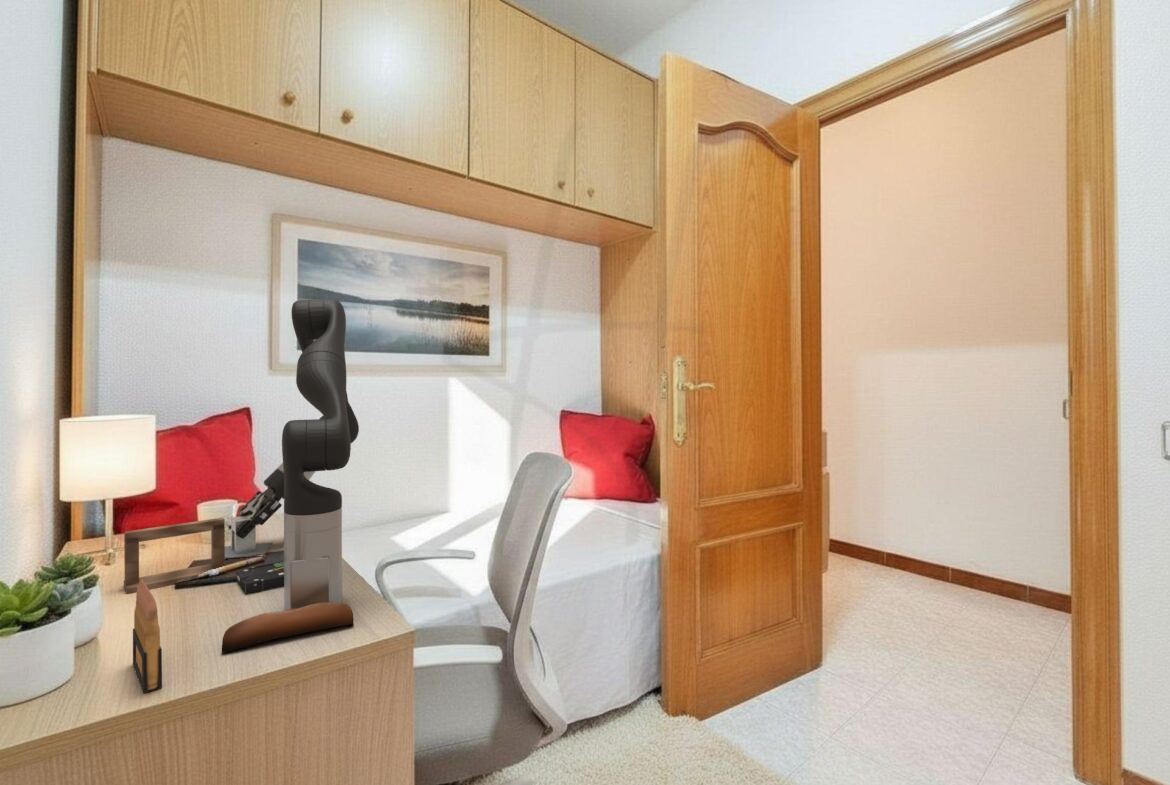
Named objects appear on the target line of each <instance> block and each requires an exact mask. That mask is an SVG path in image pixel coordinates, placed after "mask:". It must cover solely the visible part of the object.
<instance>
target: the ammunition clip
mask: <svg viewBox="0 0 1170 785" xmlns="http://www.w3.org/2000/svg"><path fill="white" fill-rule="evenodd" d="M135 599H136V600H135V608H134V614H133V618H134V622H133V623H134V627H133V628H132V666H133V665H134V666H133V668H135V669H134V671H136V672H135V674H136V677H137V679H139V680H138V682H139V685H140V684H141V685H140V688H141V687H142V688H141V690H143V691H142V693H143V694H147V693H150V692H149V691H151V692H152V691H153V690H154V691H156V689H157V690H159V688H160V689H163V664H162V661H163V660H162V659H163V657H162V656H163V655H162V654H163V651H162V647H161V635H160V634H161V632H160V630H161V629H160V623H159V617H158V607H157V605H158V604H157V603H156V600H155V597H154V596H153V594H152V592H151V591H150V589H148V587H147V586H146V584H145V582H144V580H143V579H141V580H140V582H139V584H138V588H137V592H136V597H135ZM146 692H147V693H146Z"/></svg>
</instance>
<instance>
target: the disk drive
mask: <svg viewBox="0 0 1170 785" xmlns="http://www.w3.org/2000/svg"><path fill="white" fill-rule="evenodd" d="M235 572H236V573H235V575H236V576H235V578H237V581H236V583H237V582H238V583H237V585H238V586H239V588H240V589H241V591H242V593H244V595H245V596H248V595H253V594H258V593H261V592H266V591H270V590H275V589H279V588H284V560H282V561H277V562H276V561H275V562H272V563H266V564H261V565H257V566H251V567H246V568H245V567H244V568H241V569H236V571H235Z"/></svg>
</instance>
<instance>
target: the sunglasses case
mask: <svg viewBox="0 0 1170 785" xmlns="http://www.w3.org/2000/svg"><path fill="white" fill-rule="evenodd" d="M349 625H350V626H351V625H353V626H354V613H353V609H352V607H351V606H350V605H348V604H347V603H343V602H342V603H332V602H331V603H317V604H312V605H308V606H304V607H301V608H297V609H294V608H291V609H287V610H286V611H284V610H281V611H273V612H272V611H271V612H266V613H265V612H264V613H261V614H257V615H253V616H251V617H248V618H245V619H244V620H241V621H239V622H237V623H235V624H233V625H231V626H230V627H228V628H227V629H226V630H225V631H224V634H223V636H222V640H221V654H225V653H226V652H232V651H234V650H238V649H243V648H246V647H251V646H254V645H256V644H259V643H265V642H268V641H271V640H273V639H282V638H288V637H291V636H297V635H301V634H305V633H309V632H316V631H317V632H318V631H321V630H326V629H331V628H337V627H342V626H349Z"/></svg>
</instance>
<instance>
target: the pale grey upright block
mask: <svg viewBox="0 0 1170 785" xmlns="http://www.w3.org/2000/svg"><path fill="white" fill-rule="evenodd" d="M250 516H251V515H247V516H240V517H238V516H235V517H233V516H232V517H230V524H231V530H230V546H231V550H235V554H240V553H245V552H251V551H256V544H257V543H256V536H257V534H256V532H257V531H256V529H257V528H256V527H257V526H255V528H254V529H253V530H252V531H251V532H250V533H249V534H248V535H247V536H246V537H245V538H243V539H242V538H240V537H239V536H237V535H236V534H235V533H236V531H237V530H238V529H239V528H240V527H241V526H242V525H243V524H244V523H245V522H246V521H247V520H248V519H249V518H250ZM248 521H249V520H248Z"/></svg>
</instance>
